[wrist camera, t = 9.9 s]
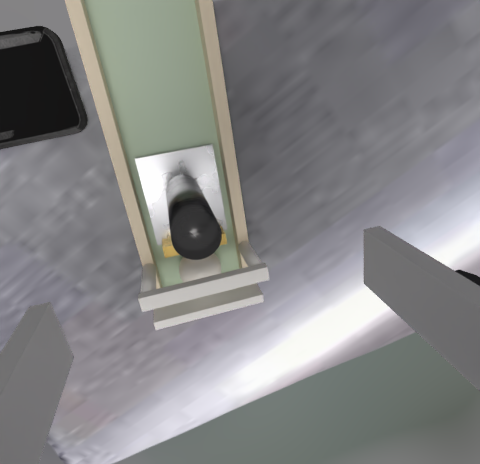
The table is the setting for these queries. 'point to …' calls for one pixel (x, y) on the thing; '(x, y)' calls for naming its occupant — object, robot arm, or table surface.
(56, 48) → the phone
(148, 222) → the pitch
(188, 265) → the ball
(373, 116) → the table surface
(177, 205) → the rod
